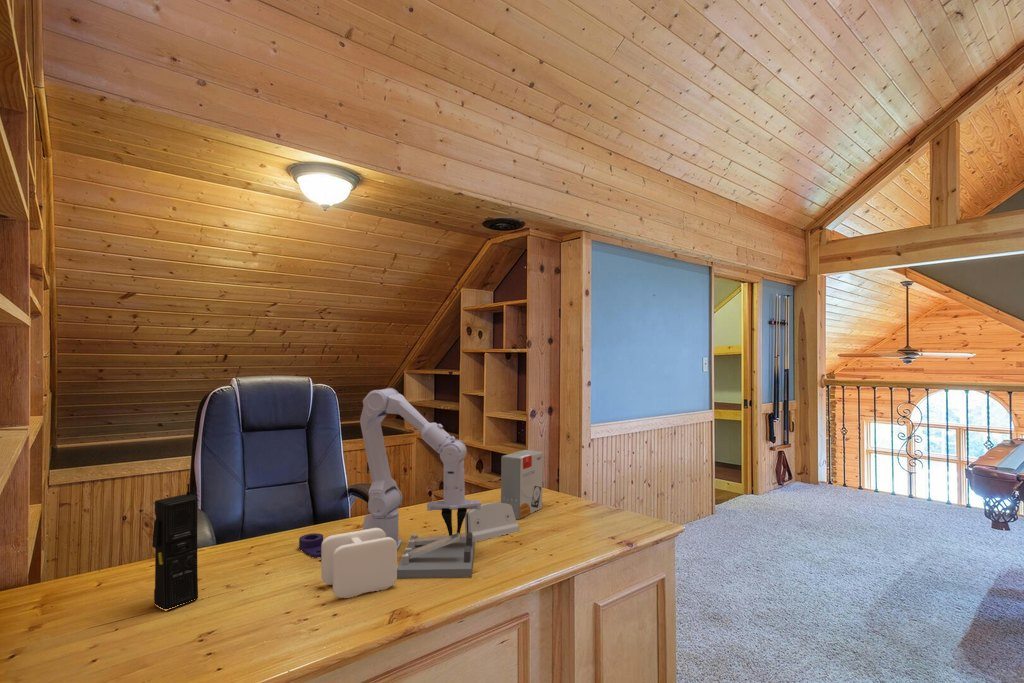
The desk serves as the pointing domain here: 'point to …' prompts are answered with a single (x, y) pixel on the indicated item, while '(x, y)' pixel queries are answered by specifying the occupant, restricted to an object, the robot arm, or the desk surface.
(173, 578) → the portable radio
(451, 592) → the desk surface
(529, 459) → the hard drive box
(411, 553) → the front strap
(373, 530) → the cable organizer
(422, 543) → the strip
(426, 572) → the base plate
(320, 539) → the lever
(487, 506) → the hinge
